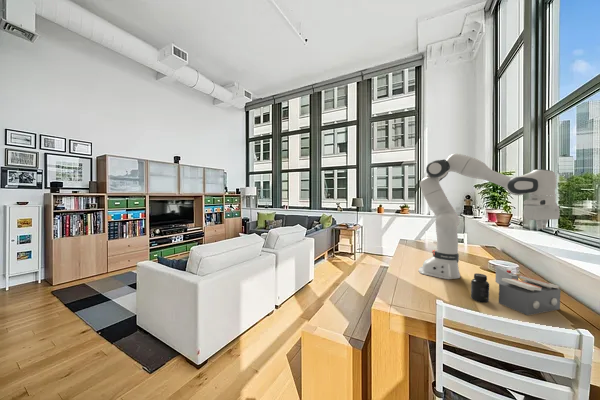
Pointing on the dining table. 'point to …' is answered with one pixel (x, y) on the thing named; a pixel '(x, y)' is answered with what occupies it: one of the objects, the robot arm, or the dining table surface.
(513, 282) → the left rocker
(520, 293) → the switch console
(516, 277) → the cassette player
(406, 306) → the dining table surface
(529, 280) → the right rocker
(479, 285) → the supplement bottle
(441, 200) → the robot arm
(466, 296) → the dining table surface
